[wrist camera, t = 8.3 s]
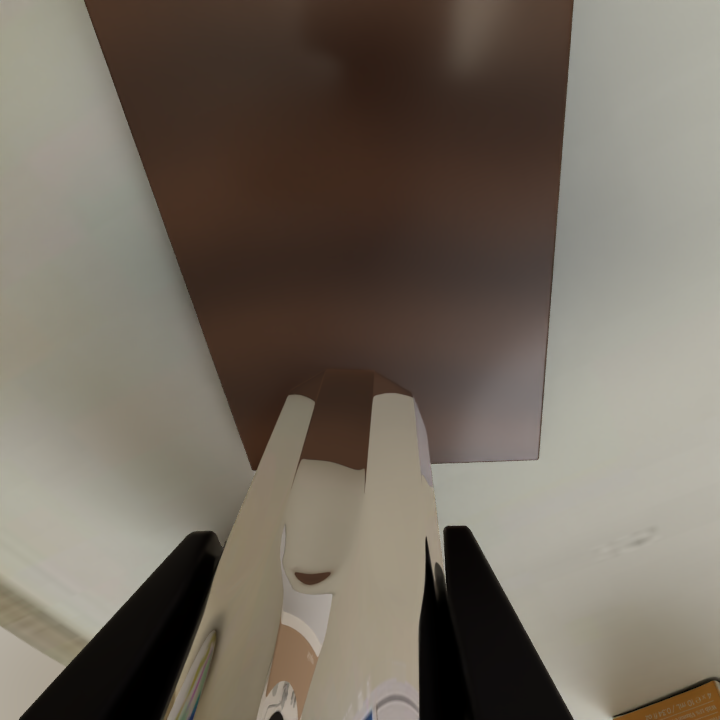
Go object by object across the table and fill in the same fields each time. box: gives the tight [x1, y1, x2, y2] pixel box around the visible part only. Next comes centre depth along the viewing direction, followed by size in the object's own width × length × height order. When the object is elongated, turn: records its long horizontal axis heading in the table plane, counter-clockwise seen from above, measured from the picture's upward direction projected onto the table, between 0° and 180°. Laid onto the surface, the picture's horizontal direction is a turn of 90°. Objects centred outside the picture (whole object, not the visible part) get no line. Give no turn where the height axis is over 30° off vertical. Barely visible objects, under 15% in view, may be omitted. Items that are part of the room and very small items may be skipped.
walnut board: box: [84, 0, 574, 470], centre depth 18 cm, size 18×12×1 cm, turn 8°
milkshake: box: [145, 368, 465, 720], centre depth 8 cm, size 4×5×10 cm
